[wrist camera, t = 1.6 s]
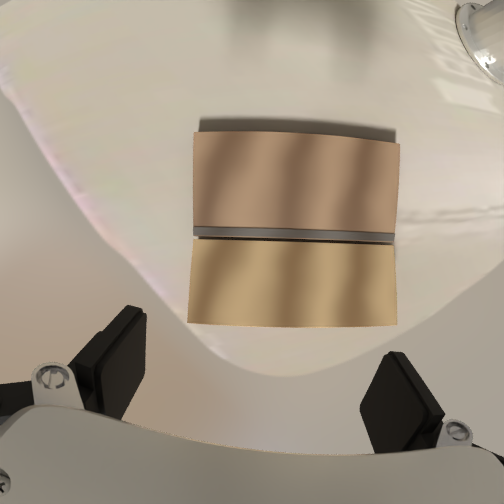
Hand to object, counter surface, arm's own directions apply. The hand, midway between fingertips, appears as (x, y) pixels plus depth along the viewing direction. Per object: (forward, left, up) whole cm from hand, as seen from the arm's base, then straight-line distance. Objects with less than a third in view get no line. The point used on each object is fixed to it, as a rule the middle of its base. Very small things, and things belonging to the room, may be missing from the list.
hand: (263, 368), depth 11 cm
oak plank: (-3, +4, -18) cm, 19 cm away
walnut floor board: (-3, -6, -21) cm, 22 cm away
